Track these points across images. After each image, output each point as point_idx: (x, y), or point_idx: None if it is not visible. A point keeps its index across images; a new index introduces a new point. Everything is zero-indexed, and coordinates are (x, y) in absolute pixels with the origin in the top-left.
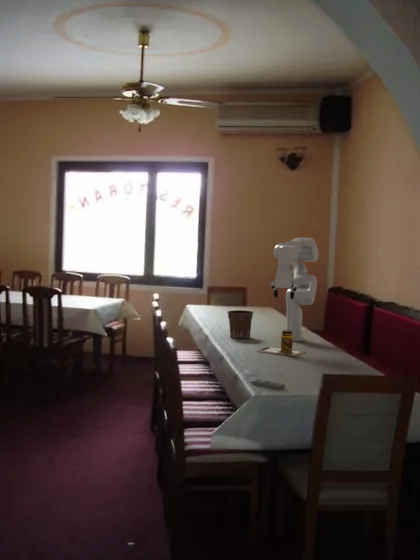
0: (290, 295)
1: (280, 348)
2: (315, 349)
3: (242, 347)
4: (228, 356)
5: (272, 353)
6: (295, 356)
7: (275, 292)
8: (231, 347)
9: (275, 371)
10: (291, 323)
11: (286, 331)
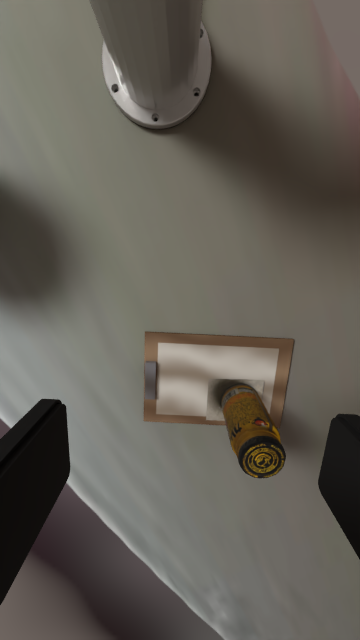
0: (355, 543)
1: (192, 336)
2: (314, 259)
3: (65, 380)
4: (104, 512)
5: (198, 423)
6: (279, 424)
7: (11, 571)
8: (36, 401)
9: (279, 584)
10: (146, 42)
11: (261, 465)
